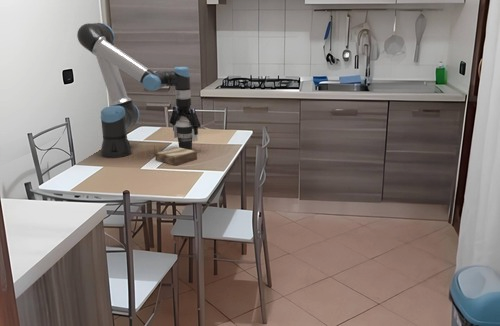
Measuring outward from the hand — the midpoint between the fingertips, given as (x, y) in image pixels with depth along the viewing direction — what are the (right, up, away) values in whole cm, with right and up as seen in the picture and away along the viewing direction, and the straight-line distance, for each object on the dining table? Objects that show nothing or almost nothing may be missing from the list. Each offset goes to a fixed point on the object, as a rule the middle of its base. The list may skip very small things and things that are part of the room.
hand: (185, 139), depth 253 cm
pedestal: (-2, -11, -16) cm, 20 cm away
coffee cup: (0, -6, +2) cm, 6 cm away
